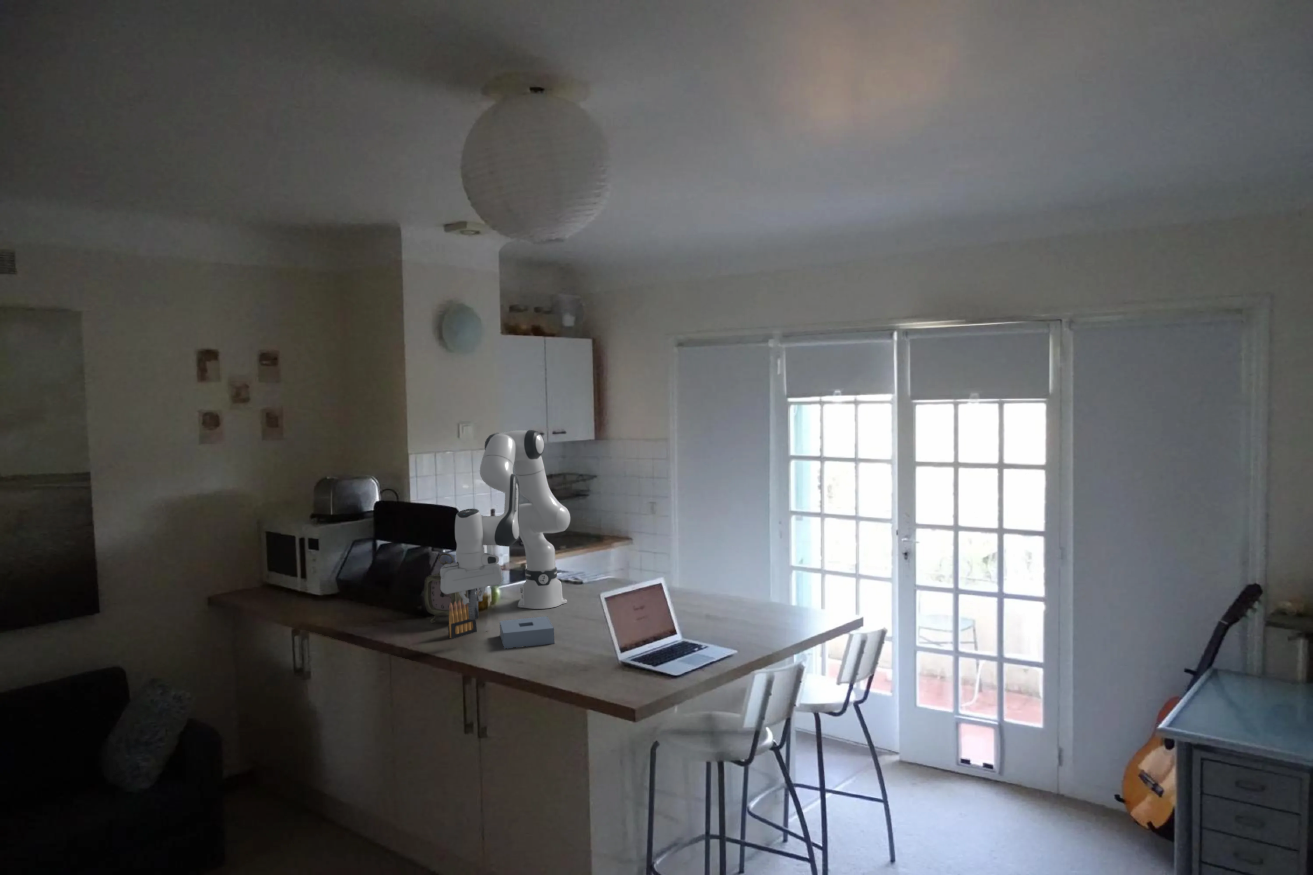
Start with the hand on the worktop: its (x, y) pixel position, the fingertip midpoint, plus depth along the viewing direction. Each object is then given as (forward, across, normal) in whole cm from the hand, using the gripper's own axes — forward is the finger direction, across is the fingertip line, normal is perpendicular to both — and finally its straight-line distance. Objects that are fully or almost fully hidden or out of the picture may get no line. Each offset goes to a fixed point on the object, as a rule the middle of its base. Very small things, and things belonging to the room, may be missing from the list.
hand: (472, 602), depth 274 cm
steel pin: (+5, 0, 0) cm, 5 cm away
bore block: (+14, +15, -6) cm, 22 cm away
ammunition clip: (+14, +2, +14) cm, 20 cm away
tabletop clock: (+14, +5, +33) cm, 36 cm away
